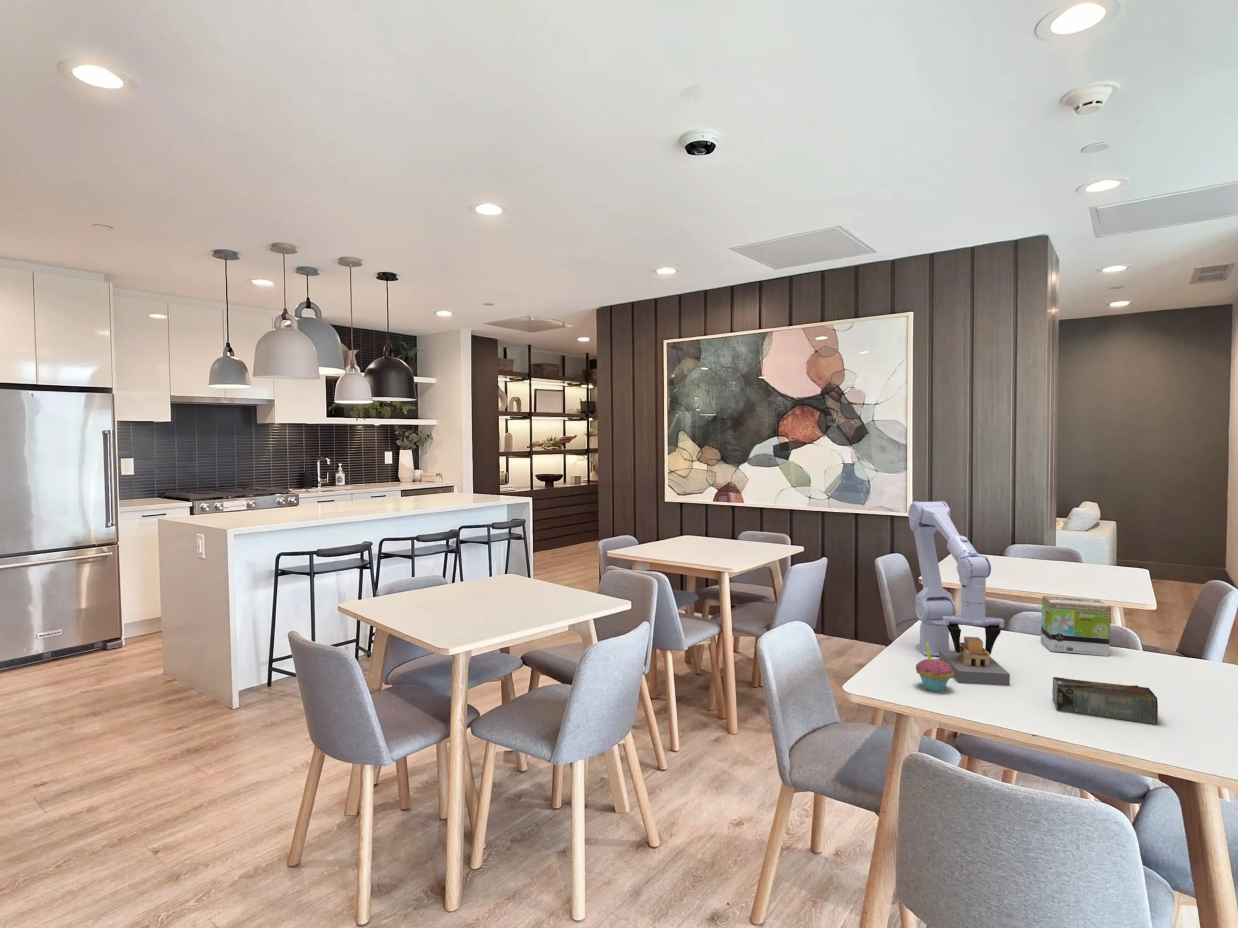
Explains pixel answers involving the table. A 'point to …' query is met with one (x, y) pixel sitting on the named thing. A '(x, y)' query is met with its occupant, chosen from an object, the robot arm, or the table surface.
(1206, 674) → the table surface
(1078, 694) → the beverage carton
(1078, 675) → the table surface
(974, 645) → the light brown block
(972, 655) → the pallet
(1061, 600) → the tea box
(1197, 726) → the table surface
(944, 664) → the cupcake
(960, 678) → the dock
